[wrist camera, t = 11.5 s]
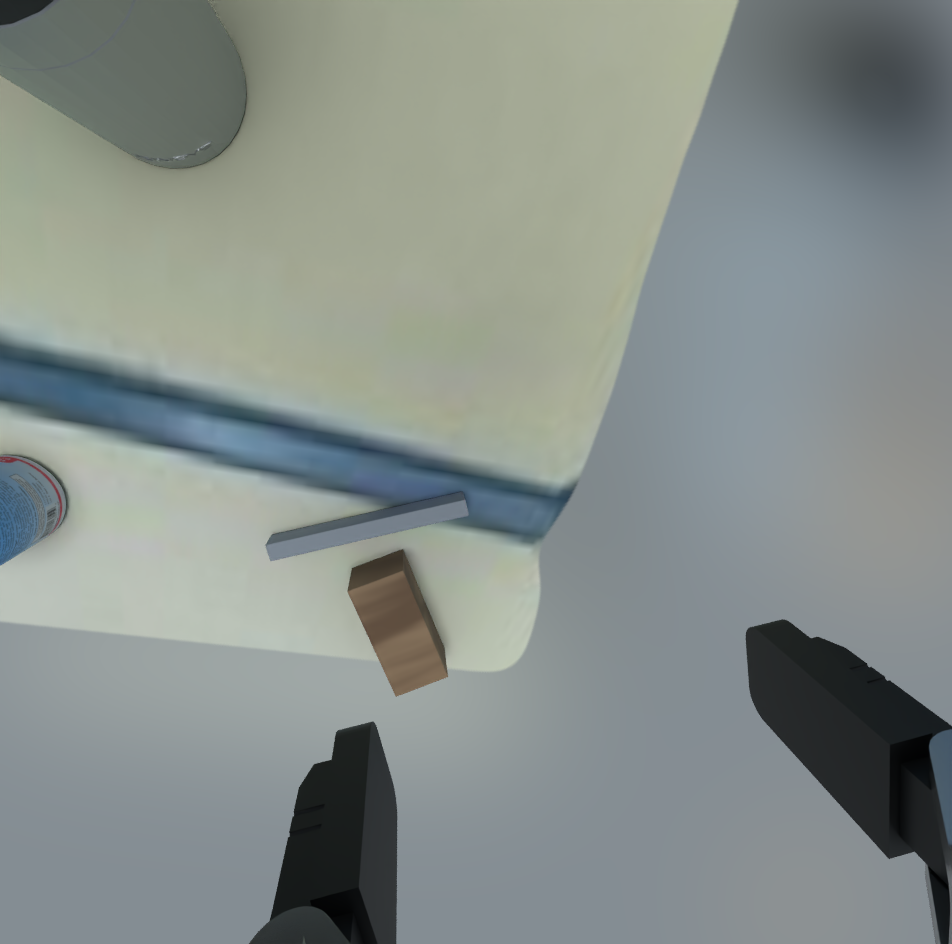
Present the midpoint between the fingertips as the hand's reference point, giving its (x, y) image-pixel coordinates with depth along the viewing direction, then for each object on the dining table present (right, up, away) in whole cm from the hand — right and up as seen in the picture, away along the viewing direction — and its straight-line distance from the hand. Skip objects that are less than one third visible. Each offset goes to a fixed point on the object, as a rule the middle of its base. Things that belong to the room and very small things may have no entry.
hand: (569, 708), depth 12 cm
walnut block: (-9, -2, +29) cm, 30 cm away
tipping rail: (-10, +1, +30) cm, 31 cm away
